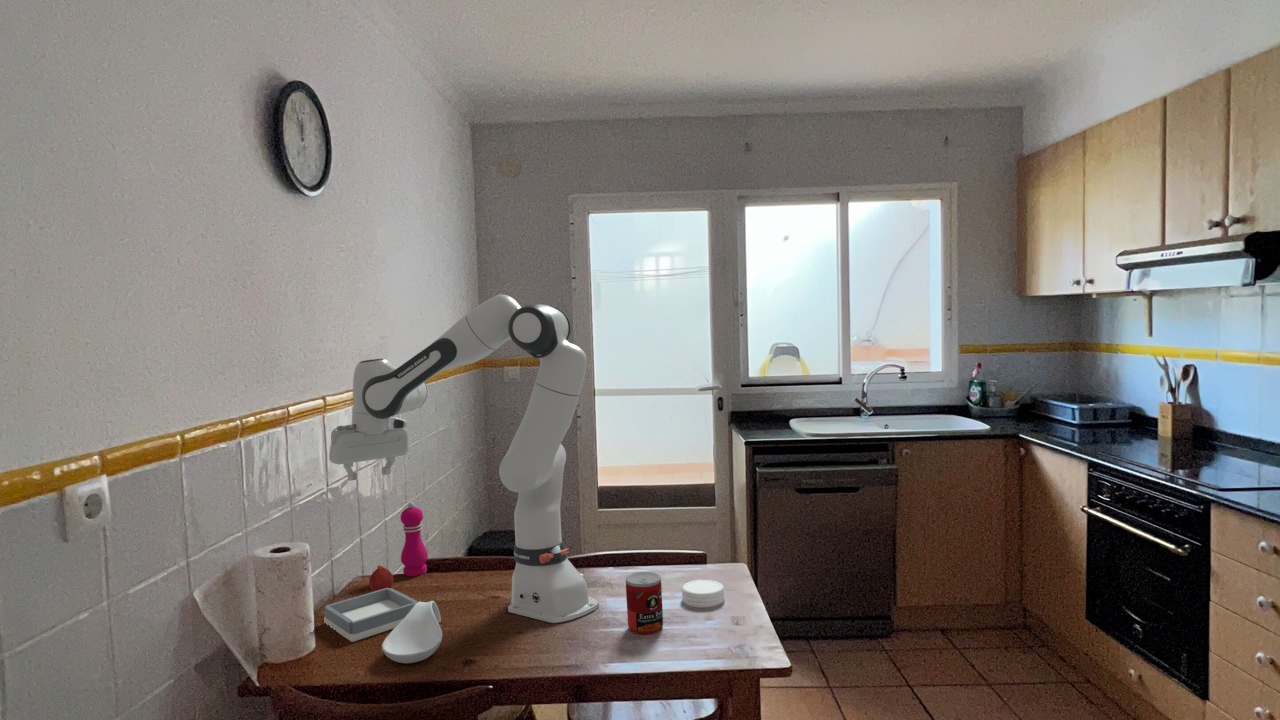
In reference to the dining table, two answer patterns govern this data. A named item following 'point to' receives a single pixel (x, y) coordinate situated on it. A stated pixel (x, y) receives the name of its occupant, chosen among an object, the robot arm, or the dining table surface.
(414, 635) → the spoon rest
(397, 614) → the stand
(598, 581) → the dining table surface
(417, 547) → the pepper mill
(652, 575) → the canned food
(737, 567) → the dining table surface
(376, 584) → the onion
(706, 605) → the white short cylinder
